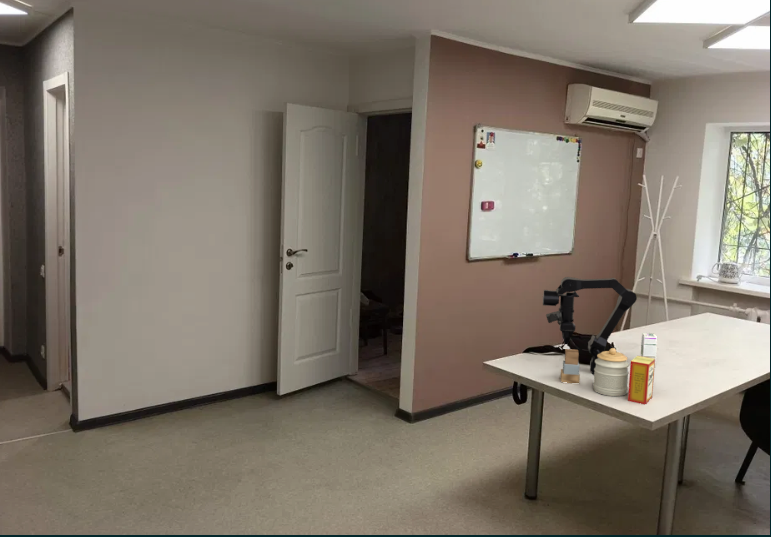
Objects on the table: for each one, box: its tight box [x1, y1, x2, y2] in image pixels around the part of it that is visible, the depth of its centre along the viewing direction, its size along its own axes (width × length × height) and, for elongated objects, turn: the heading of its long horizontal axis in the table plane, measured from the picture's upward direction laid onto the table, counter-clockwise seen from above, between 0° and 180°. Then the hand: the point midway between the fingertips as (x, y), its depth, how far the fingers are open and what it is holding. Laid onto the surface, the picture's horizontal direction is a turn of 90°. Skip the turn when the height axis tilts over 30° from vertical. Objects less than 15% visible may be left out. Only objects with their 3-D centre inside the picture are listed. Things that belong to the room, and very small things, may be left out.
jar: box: [592, 347, 630, 397], centre depth 251 cm, size 13×13×18 cm
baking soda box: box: [627, 355, 656, 405], centre depth 243 cm, size 10×6×16 cm
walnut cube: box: [564, 348, 579, 365], centre depth 263 cm, size 5×5×5 cm
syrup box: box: [640, 332, 658, 368], centre depth 285 cm, size 6×6×14 cm
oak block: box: [560, 368, 581, 384], centre depth 265 cm, size 7×7×4 cm
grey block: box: [562, 359, 580, 375], centre depth 264 cm, size 6×6×4 cm
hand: (564, 341), depth 277 cm, fingers open, 9 cm apart
